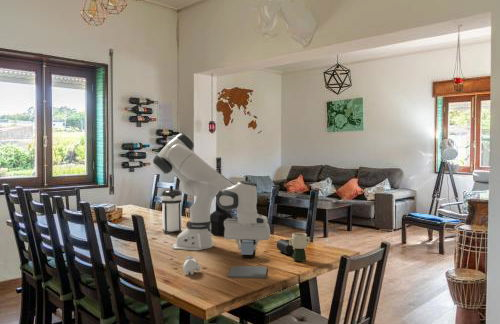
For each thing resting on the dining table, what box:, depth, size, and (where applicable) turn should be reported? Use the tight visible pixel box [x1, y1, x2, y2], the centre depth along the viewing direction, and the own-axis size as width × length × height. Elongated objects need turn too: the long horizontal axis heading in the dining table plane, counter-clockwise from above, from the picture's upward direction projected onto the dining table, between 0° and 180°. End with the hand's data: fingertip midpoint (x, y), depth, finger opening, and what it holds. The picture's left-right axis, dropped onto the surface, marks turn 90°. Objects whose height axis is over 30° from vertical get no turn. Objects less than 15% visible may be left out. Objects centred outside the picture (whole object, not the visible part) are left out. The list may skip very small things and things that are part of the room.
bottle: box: [210, 190, 234, 236], centre depth 264 cm, size 16×16×30 cm
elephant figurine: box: [180, 254, 203, 276], centre depth 185 cm, size 8×10×7 cm
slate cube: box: [240, 240, 254, 255], centre depth 184 cm, size 5×5×5 cm
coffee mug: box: [239, 240, 257, 260], centre depth 211 cm, size 12×9×10 cm
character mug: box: [288, 232, 311, 262], centre depth 202 cm, size 11×7×13 cm, turn 107°
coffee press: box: [161, 185, 183, 235], centre depth 271 cm, size 17×16×30 cm
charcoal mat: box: [227, 265, 268, 279], centre depth 185 cm, size 16×14×1 cm
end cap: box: [276, 238, 295, 257], centre depth 216 cm, size 10×7×7 cm
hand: (247, 249), depth 184 cm, fingers closed on slate cube, 5 cm apart
